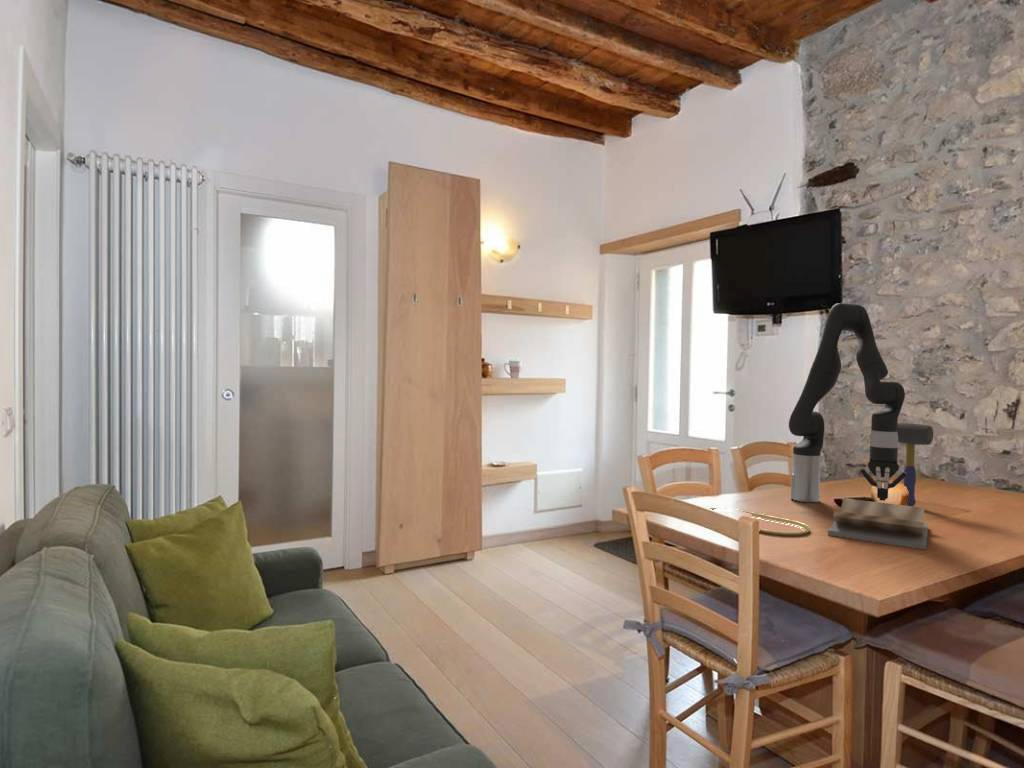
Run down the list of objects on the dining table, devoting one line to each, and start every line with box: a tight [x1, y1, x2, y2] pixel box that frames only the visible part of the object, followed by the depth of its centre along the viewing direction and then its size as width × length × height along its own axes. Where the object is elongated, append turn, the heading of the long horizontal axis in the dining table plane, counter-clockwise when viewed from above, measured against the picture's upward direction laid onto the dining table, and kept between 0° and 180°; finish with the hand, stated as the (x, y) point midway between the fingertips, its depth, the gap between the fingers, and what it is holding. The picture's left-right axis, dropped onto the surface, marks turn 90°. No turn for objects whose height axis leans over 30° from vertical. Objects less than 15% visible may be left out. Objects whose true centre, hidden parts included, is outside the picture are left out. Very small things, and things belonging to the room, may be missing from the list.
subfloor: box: [827, 520, 929, 551], centre depth 184 cm, size 24×28×3 cm
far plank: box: [840, 497, 925, 526], centre depth 191 cm, size 22×8×2 cm, turn 55°
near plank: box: [832, 510, 923, 536], centre depth 178 cm, size 22×8×2 cm, turn 55°
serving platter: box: [709, 507, 811, 537], centre depth 193 cm, size 19×35×2 cm, turn 42°
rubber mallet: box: [897, 422, 934, 507], centre depth 219 cm, size 12×8×30 cm, turn 39°
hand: (882, 500), depth 192 cm, fingers closed
